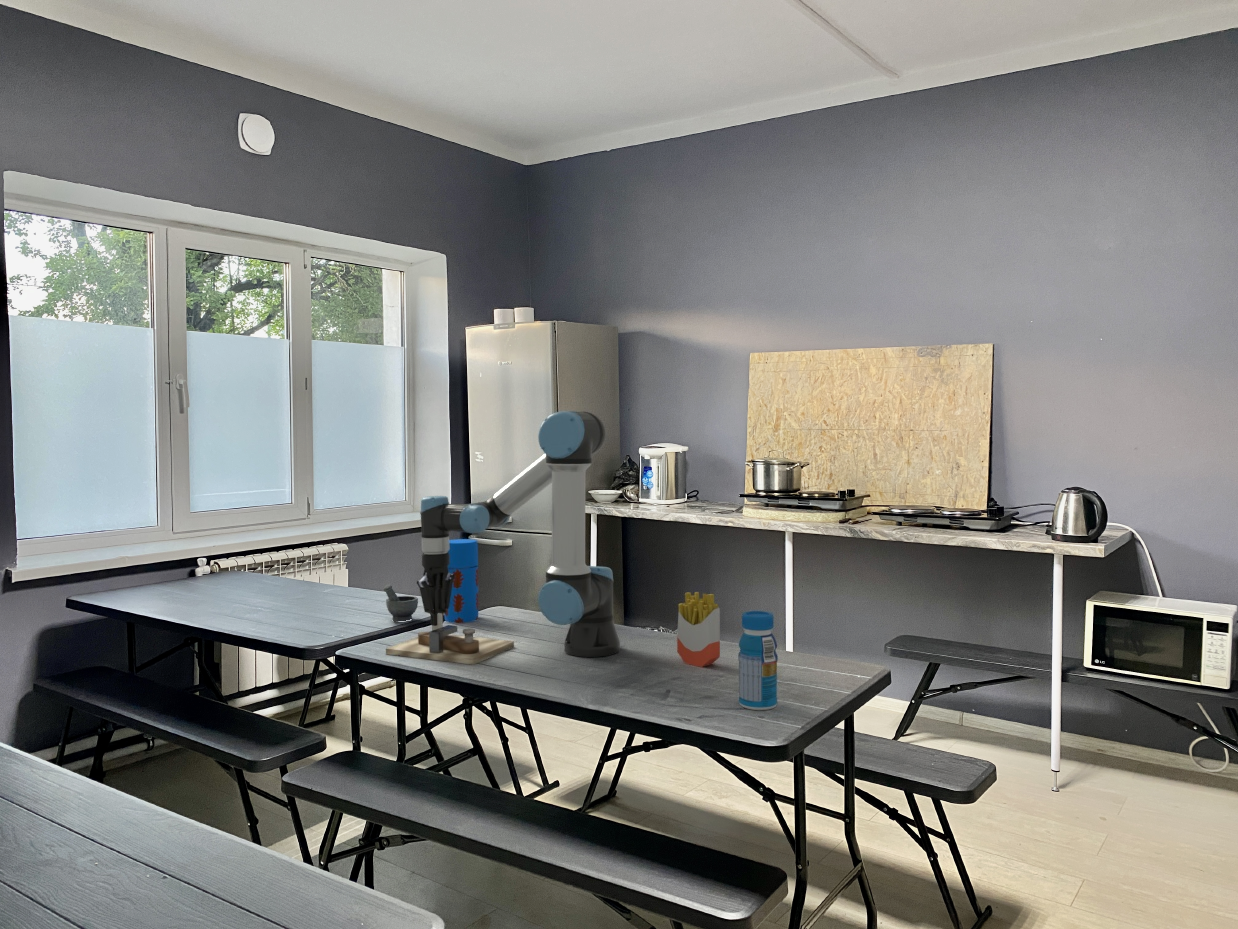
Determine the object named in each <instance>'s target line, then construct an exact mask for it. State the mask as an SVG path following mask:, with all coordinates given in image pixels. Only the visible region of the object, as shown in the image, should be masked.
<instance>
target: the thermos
mask: <svg viewBox="0 0 1238 929" xmlns="http://www.w3.org/2000/svg"><path fill="white" fill-rule="evenodd" d="M478 546H479V545H478V540H476V539H471V538H469V539H467V538H464V539H463V538H459V539H449V548H450V550H448V551H447V552H449V554H450V564H449V566H447V567H448V570H449V573H451V574H455V578H454V580H453V584H452V591H451V598H450V605H449V609H446V610H447V612H446V613H444V621H445V622H448V623H453V624H460V623H462V624H463V623H464V624H465V623H471V622H475V621H478V619H479V611H480V610H479V609H480V606H479V605H480V604H479V603H480V602H479V596H480V595H479V547H478Z"/></svg>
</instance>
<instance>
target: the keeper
mask: <svg viewBox="0 0 1238 929" xmlns="http://www.w3.org/2000/svg"><path fill="white" fill-rule="evenodd" d="M428 632H429V651H430V652H431V653H441V652H443V637H444V636H447V635H453V634H454V633H456V632H458V625H450V624H448V625H445V626H444V625H443V627H441V628H438V629H436V630H433V631H432V630H430V631H428Z"/></svg>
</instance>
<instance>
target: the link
mask: <svg viewBox="0 0 1238 929" xmlns="http://www.w3.org/2000/svg"><path fill="white" fill-rule="evenodd" d="M429 632H430V631H421V632H419V633H418V634H417V637H418V643H419V644H423V645H428V646H429ZM475 633H476V629H475V628H473V627H472V628H463V629H462V634H463V635H464V636H465V638H460V637H454V636H449V635H450V634H449V635H447V636H444V637H443V649H448V650H453V651H458V652H460V653H464V654H471V653H476V652H478V651H479V641H478V640H473V637H474V634H475Z"/></svg>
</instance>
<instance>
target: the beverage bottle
mask: <svg viewBox="0 0 1238 929" xmlns="http://www.w3.org/2000/svg"><path fill="white" fill-rule="evenodd" d="M774 619H775V618H774V614H773V613H772V612H769V611H765V610H764V611H763V610H750V611H749V610H748V611H744V612H743V613H742V616H741V626H742V629H743V630H744V632H743V633H742V635H741V636H740V639H739V642H738V647H739V652H738V654H737V655H738V656H737V659H738V660H737V661H738V677H739V678H738V690H739V691H738V692H739V693H738V703H739V705H740V706H741V707H743V708H745V709H747V710H752V711H767V710H772V709H774V708H776V707H777V704H778V660H779V659H778V658H779V657H778V653H777V652H776V650H777V648H778V644H777V641H776V638H775V636H774V635H773V632H772V631H773V630H774V626H775V625H774V624H775V622H774V621H775V620H774Z"/></svg>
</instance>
